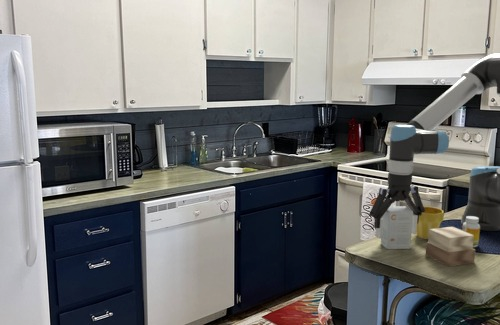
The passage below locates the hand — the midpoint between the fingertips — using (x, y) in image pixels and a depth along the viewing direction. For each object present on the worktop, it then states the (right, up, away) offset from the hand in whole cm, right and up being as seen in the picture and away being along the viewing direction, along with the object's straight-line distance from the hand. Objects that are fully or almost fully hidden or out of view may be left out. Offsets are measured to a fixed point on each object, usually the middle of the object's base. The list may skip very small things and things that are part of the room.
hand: (395, 235), depth 163 cm
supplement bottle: (+26, -4, +3) cm, 26 cm away
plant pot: (+14, -2, +11) cm, 18 cm away
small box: (0, -4, +1) cm, 4 cm away
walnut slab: (+14, -6, -10) cm, 18 cm away
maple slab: (+14, -2, -11) cm, 17 cm away
